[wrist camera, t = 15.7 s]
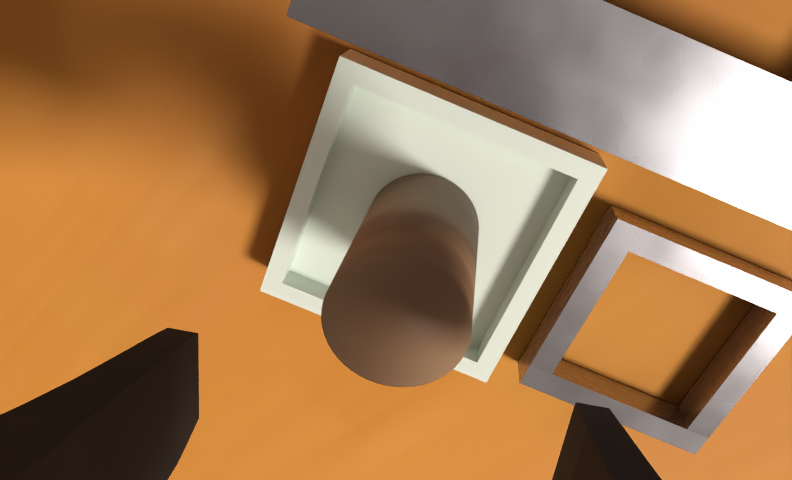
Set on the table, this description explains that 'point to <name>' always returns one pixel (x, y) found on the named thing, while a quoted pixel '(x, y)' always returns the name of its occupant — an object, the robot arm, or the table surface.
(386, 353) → the dowel
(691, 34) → the table surface
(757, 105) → the bench stop
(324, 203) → the tray
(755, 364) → the dowel socket
